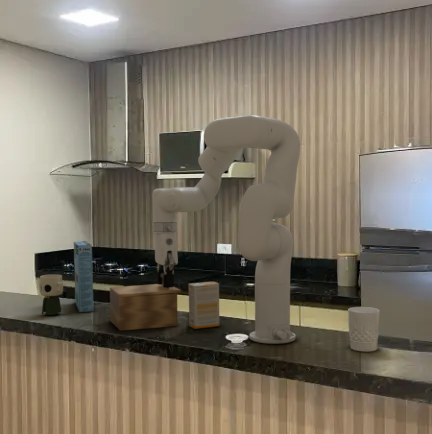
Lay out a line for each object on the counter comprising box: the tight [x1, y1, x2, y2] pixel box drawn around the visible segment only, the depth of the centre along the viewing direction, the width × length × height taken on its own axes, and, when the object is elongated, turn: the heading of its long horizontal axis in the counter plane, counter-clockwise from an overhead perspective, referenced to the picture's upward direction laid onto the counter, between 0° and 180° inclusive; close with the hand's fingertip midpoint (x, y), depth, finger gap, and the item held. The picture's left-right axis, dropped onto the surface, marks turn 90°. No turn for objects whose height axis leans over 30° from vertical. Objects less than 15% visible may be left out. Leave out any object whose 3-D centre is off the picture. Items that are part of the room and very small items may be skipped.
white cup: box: [347, 306, 381, 353], centre depth 153 cm, size 8×8×10 cm
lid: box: [109, 273, 181, 297], centre depth 184 cm, size 19×15×5 cm
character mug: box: [39, 274, 64, 316], centre depth 199 cm, size 11×7×13 cm, turn 56°
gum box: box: [73, 240, 94, 313], centre depth 212 cm, size 19×5×23 cm, turn 17°
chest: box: [109, 289, 178, 332], centre depth 184 cm, size 18×15×10 cm
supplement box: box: [188, 281, 221, 330], centre depth 180 cm, size 8×5×13 cm, turn 115°
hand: (165, 285), depth 187 cm, fingers closed on lid, 6 cm apart
